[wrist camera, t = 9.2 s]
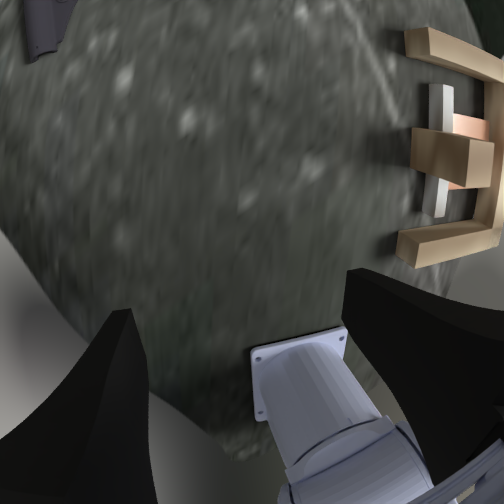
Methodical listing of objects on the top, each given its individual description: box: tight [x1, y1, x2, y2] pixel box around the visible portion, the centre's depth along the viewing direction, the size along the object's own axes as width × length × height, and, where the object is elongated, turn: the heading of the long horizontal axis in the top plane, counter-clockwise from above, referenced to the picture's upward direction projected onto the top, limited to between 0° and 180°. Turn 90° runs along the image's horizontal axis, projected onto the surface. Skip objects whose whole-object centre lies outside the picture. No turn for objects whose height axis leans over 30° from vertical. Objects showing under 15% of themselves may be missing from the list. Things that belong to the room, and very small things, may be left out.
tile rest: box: [395, 27, 504, 269], centre depth 20 cm, size 17×12×2 cm
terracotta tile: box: [448, 113, 490, 190], centre depth 21 cm, size 6×6×2 cm
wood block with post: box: [410, 84, 495, 218], centre depth 18 cm, size 10×3×6 cm, turn 3°
